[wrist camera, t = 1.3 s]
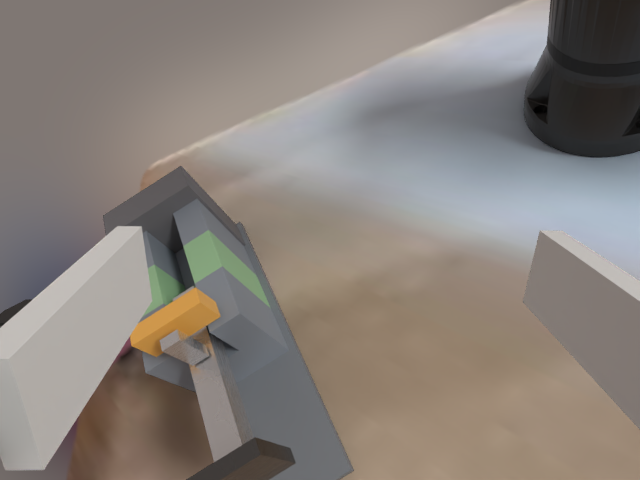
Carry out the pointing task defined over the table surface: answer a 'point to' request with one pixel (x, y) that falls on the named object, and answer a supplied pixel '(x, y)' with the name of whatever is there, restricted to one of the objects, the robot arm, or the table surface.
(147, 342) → the orange rectangular plank
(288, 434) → the grey stepped block
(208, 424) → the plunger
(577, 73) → the robot arm
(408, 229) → the table surface
